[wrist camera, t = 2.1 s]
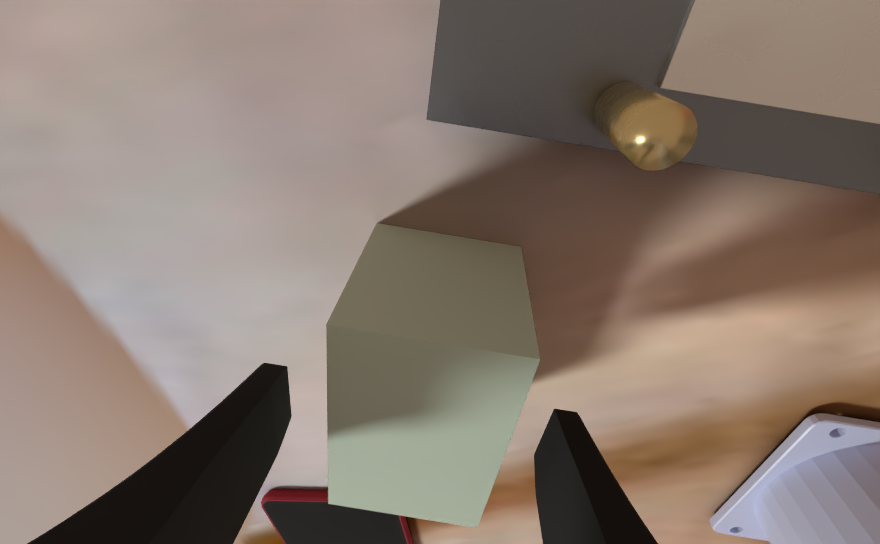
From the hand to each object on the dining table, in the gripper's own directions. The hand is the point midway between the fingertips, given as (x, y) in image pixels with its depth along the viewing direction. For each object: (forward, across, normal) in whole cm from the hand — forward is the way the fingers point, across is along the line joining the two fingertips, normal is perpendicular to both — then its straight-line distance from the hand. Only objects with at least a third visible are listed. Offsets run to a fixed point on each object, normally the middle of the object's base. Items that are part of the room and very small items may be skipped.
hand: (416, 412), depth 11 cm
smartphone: (+4, +2, +19) cm, 20 cm away
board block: (+4, 0, 0) cm, 4 cm away
